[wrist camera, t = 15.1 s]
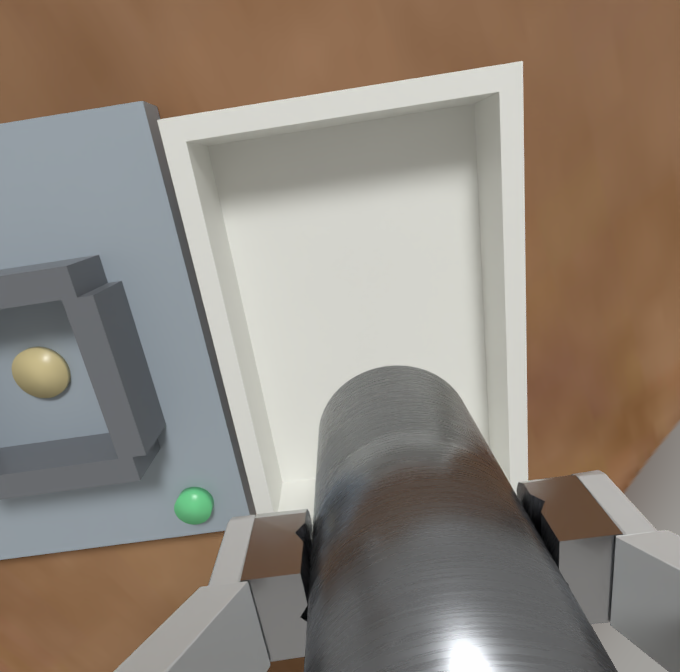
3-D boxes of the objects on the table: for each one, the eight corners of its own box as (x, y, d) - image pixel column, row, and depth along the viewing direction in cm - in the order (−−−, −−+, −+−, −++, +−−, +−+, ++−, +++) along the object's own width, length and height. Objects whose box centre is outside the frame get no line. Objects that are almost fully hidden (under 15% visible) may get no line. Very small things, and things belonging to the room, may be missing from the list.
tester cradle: (-196, 163, 19) (-325, 160, 15) (156, 106, 19) (112, 89, 15) (-8, 541, 26) (-66, 605, 22) (257, 507, 25) (244, 565, 22)
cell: (306, 376, 12) (223, 994, 3) (465, 354, 12) (889, 930, 3) (331, 506, 13) (323, 1204, 4) (473, 488, 13) (778, 1170, 4)
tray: (187, 129, 19) (156, 119, 16) (488, 81, 19) (522, 61, 15) (271, 489, 25) (262, 537, 22) (501, 459, 25) (528, 503, 21)
